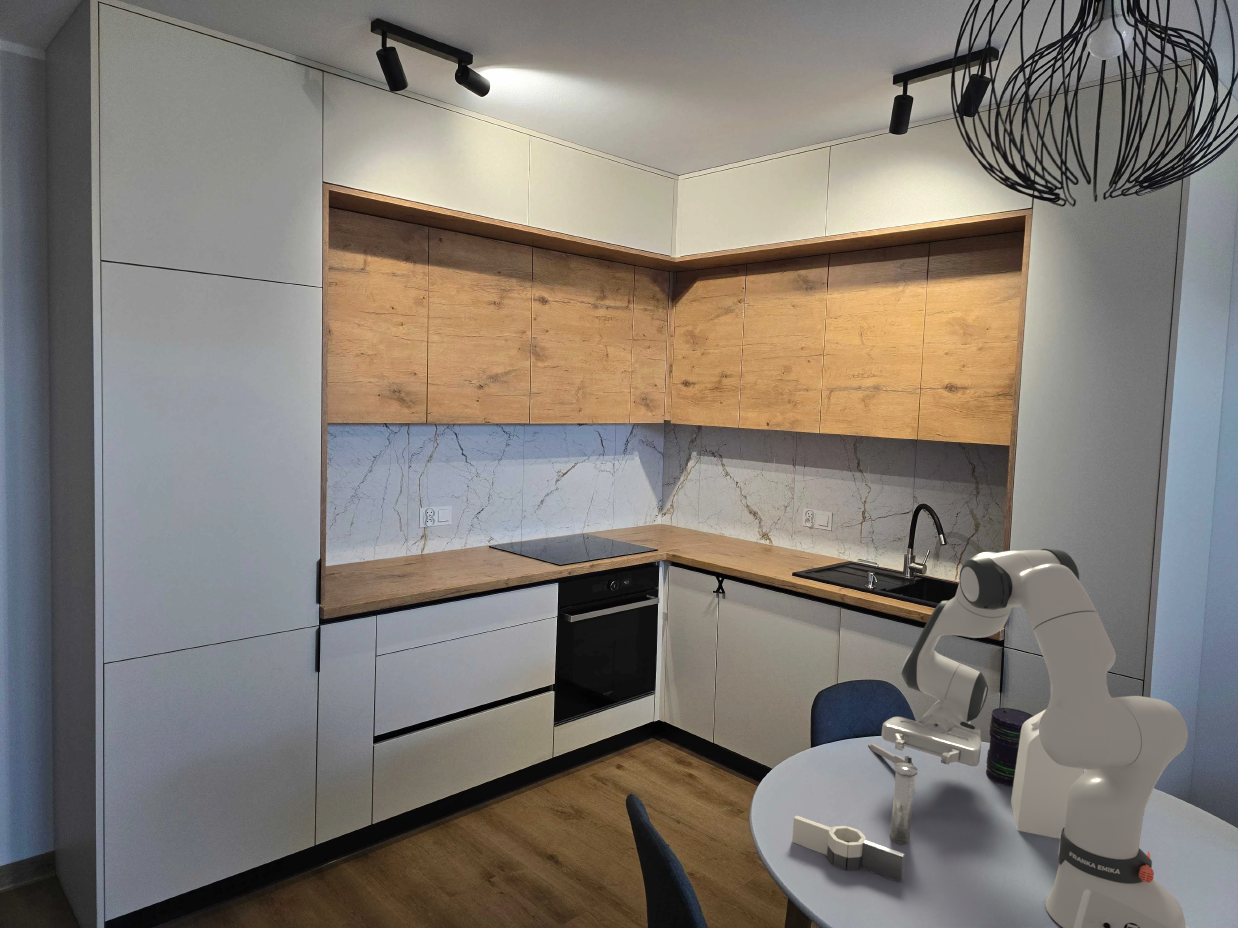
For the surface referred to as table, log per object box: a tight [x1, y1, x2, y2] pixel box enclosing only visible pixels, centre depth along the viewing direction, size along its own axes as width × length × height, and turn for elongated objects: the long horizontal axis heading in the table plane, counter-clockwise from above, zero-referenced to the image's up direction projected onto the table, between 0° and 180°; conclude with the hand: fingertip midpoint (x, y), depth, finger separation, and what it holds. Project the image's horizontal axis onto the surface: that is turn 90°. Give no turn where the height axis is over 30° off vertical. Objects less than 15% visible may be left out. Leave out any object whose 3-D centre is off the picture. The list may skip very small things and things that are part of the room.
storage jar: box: [985, 707, 1034, 788], centre depth 196 cm, size 10×10×15 cm
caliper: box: [867, 743, 914, 766], centre depth 200 cm, size 20×1×6 cm, turn 9°
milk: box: [1010, 708, 1085, 840], centre depth 176 cm, size 12×12×26 cm
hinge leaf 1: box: [791, 815, 867, 858], centre depth 161 cm, size 14×6×5 cm, turn 55°
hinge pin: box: [889, 763, 919, 846], centre depth 167 cm, size 4×4×15 cm
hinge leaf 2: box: [826, 839, 905, 883], centre depth 157 cm, size 14×6×5 cm, turn 55°
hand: (921, 753), depth 176 cm, fingers open, 8 cm apart
